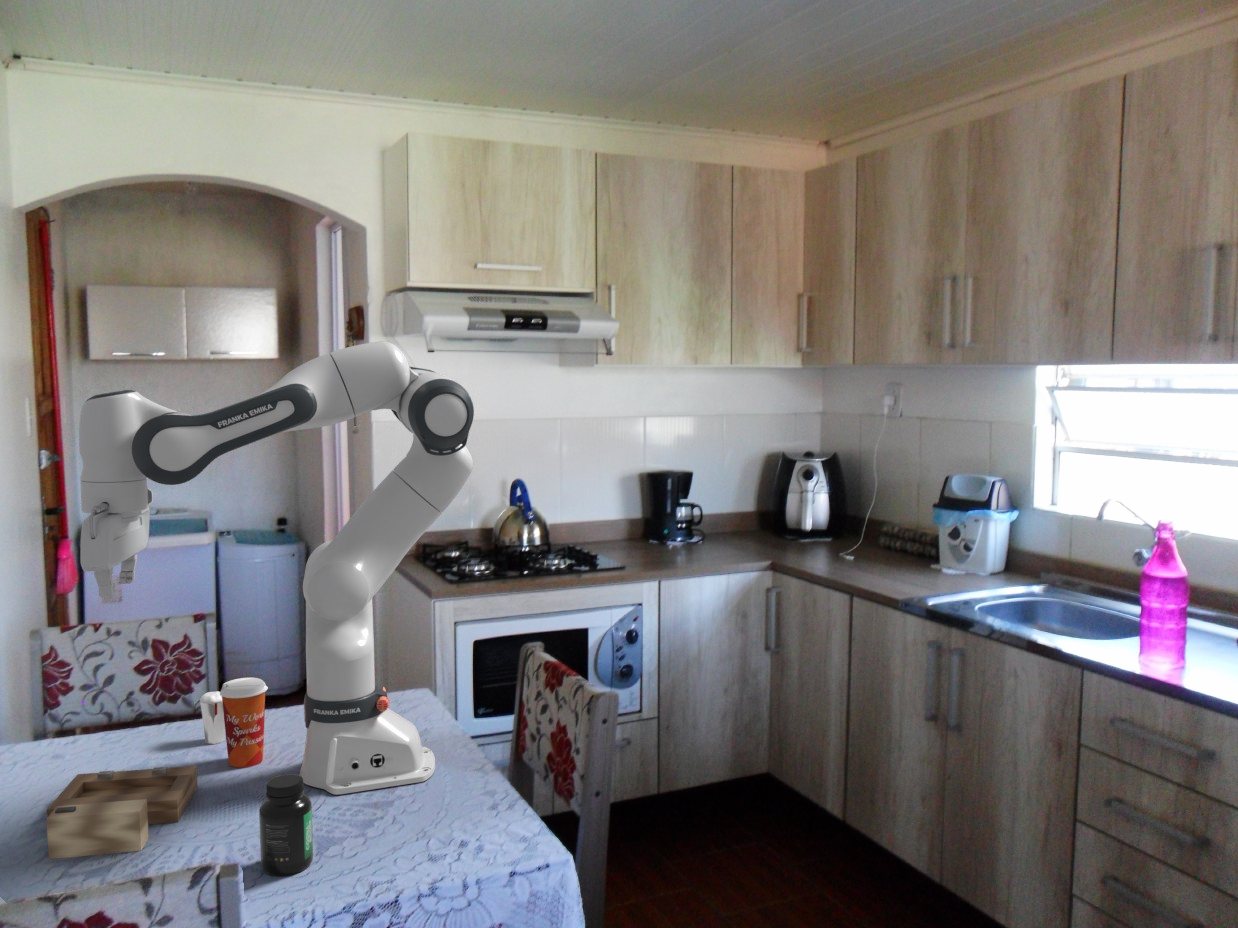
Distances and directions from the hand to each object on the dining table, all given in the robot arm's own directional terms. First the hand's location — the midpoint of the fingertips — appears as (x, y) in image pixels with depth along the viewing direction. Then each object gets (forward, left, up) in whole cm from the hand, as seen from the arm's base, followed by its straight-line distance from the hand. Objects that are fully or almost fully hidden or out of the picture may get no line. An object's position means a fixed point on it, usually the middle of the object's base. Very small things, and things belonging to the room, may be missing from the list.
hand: (117, 589), depth 149 cm
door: (+1, +12, -35) cm, 37 cm away
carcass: (+1, -1, -35) cm, 35 cm away
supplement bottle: (-26, +22, -35) cm, 49 cm away
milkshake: (-7, -28, -35) cm, 46 cm away
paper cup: (-14, -17, -35) cm, 42 cm away
